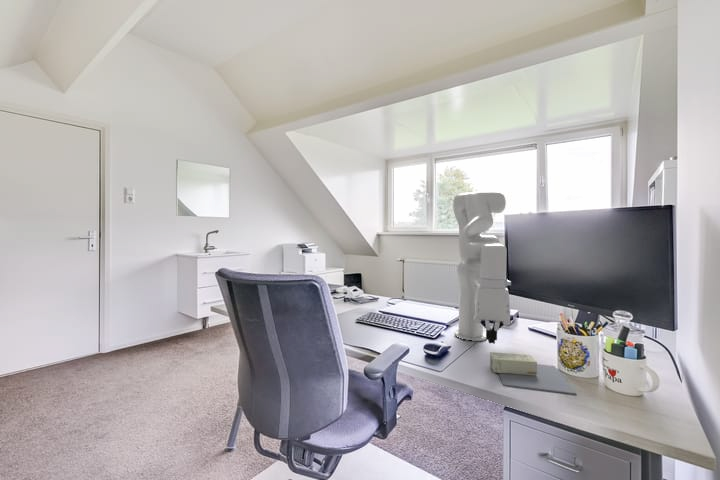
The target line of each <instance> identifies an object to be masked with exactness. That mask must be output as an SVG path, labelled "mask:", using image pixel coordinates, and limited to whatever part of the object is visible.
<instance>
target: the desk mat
mask: <svg viewBox="0 0 720 480" xmlns="http://www.w3.org/2000/svg"><path fill="white" fill-rule="evenodd" d="M498 375H499V378H500V380H501V382H502V385H503V386H505V387H511V388H519V389H520V388H521V389H527V390H534V391H535V390H537V391H544V392H552V393H559V394H566V395H567V394H568V395H574V396H575V395H576V396H577V392H576V390H575V389H574V388H573V387H572V386H571V384H570V383H569V382H568V381H567V379H566V378H565V377H564V376H563V374H562V373H561V372H560V371H559V369H558V368H557V367H556V366H555V365H549V364H540V363H537V376H533V375H521V374H509V373H498Z"/></svg>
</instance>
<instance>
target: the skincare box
mask: <svg viewBox="0 0 720 480" xmlns="http://www.w3.org/2000/svg"><path fill="white" fill-rule="evenodd" d="M489 353H490V354H489V366H490V367H491V369H492V371H493V373H498V374H499V373H509V374H521V375H533V376H537V364H538V361H537V360H536V359H535V358H534V357H533V356H532V355H531V354H524V353H522V354H521V353H511V352H510V353H509V352H496V351H490V352H489Z"/></svg>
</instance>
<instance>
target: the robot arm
mask: <svg viewBox="0 0 720 480" xmlns="http://www.w3.org/2000/svg"><path fill="white" fill-rule="evenodd" d="M506 201H507V200H506V197H505V194H504V193H503V192H502V191H499V190H476V191H471V192H462V193H458V194H456V195H455V196H454V197H453V201H452V205H453V206H452V208H453V215H454V217H455V219H456V222H457V226H458V232H459V235H458V249H459V251H458V252H459V256H460V260H461V261H460V262H459V263H458V265H457V269H456V271H457V278H458V329H457V330H455V331H454V336H455V335H456V336H458V337H460V338H463V339H466V340H465V341H468V340H472V341H471V342H481V341H485V340H486V341H488V344H493V345H495V344H496V343H495V342H496V341H497V340H498V331H499V330H500V329H501V328H502V327H503V326H510V325H511V323H512V322H511V302H510V301H511V300H510V299H511V298H510V293H509V289H508V286H512V280H508V279H507V257H508V255H507V251H508V250H507V247H506V246H505V245H504V244H501V241H500V239H499V238H498V237H497V236H495V235H492V234H491V235H490V234H487V235H486V234H483V233H485V232H487V231H488V230H489V229H491V228H492V227H493V225H494V218H493V215H492V214H500V213H503V212H504V210H505V209H506V204H507V203H506ZM482 234H483V235H482ZM478 285H479V286H478ZM490 322H493V325H492V327H491V325H490V324H491V323H490ZM484 329H485V332H484ZM456 336H455V337H456ZM458 337H457V338H458ZM460 338H459V339H460ZM463 339H462V340H463Z"/></svg>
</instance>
